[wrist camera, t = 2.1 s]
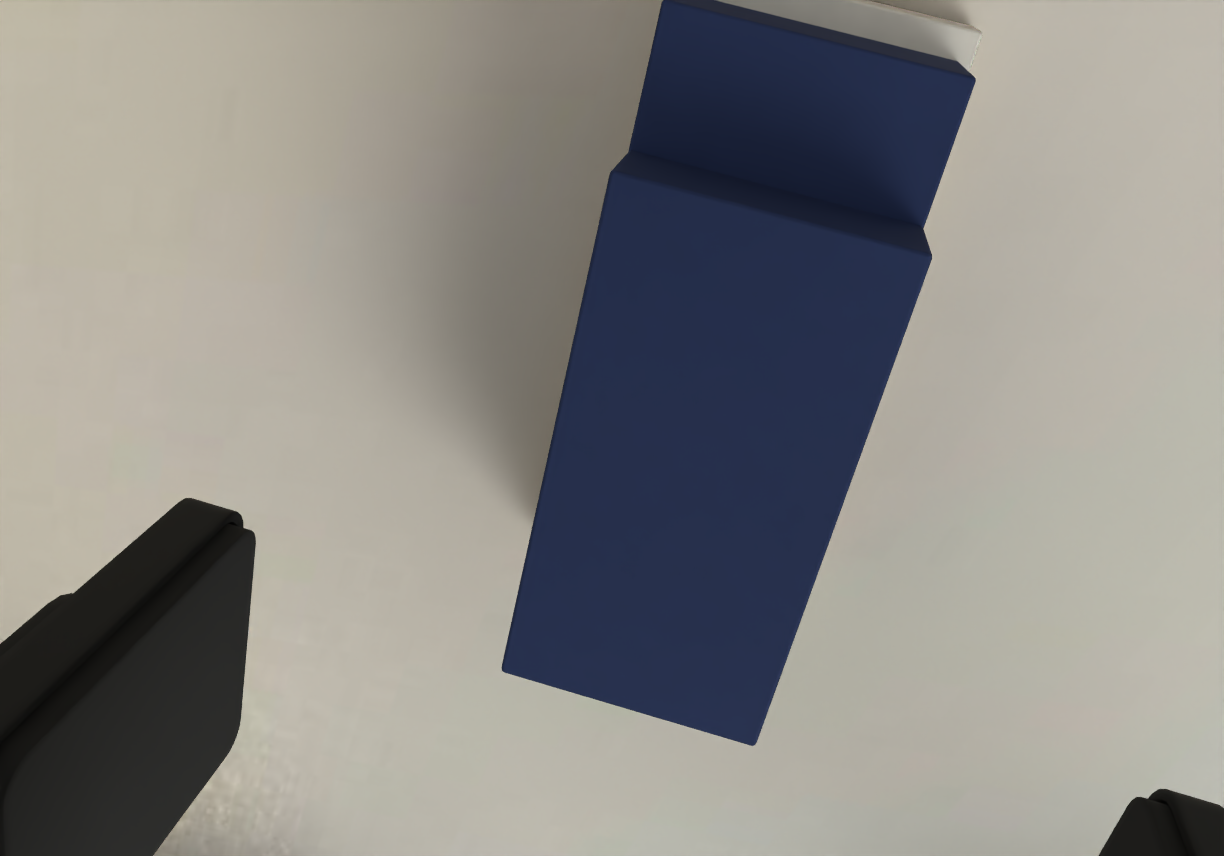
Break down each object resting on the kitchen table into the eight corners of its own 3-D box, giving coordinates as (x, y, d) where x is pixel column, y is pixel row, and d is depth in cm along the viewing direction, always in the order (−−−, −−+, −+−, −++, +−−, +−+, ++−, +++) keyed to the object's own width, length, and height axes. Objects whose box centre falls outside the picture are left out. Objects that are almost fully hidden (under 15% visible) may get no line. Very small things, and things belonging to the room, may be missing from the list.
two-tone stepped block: (549, 541, 24) (486, 682, 19) (684, -46, 19) (640, -40, 14) (773, 605, 23) (761, 764, 19) (974, 26, 18) (1023, 56, 14)
